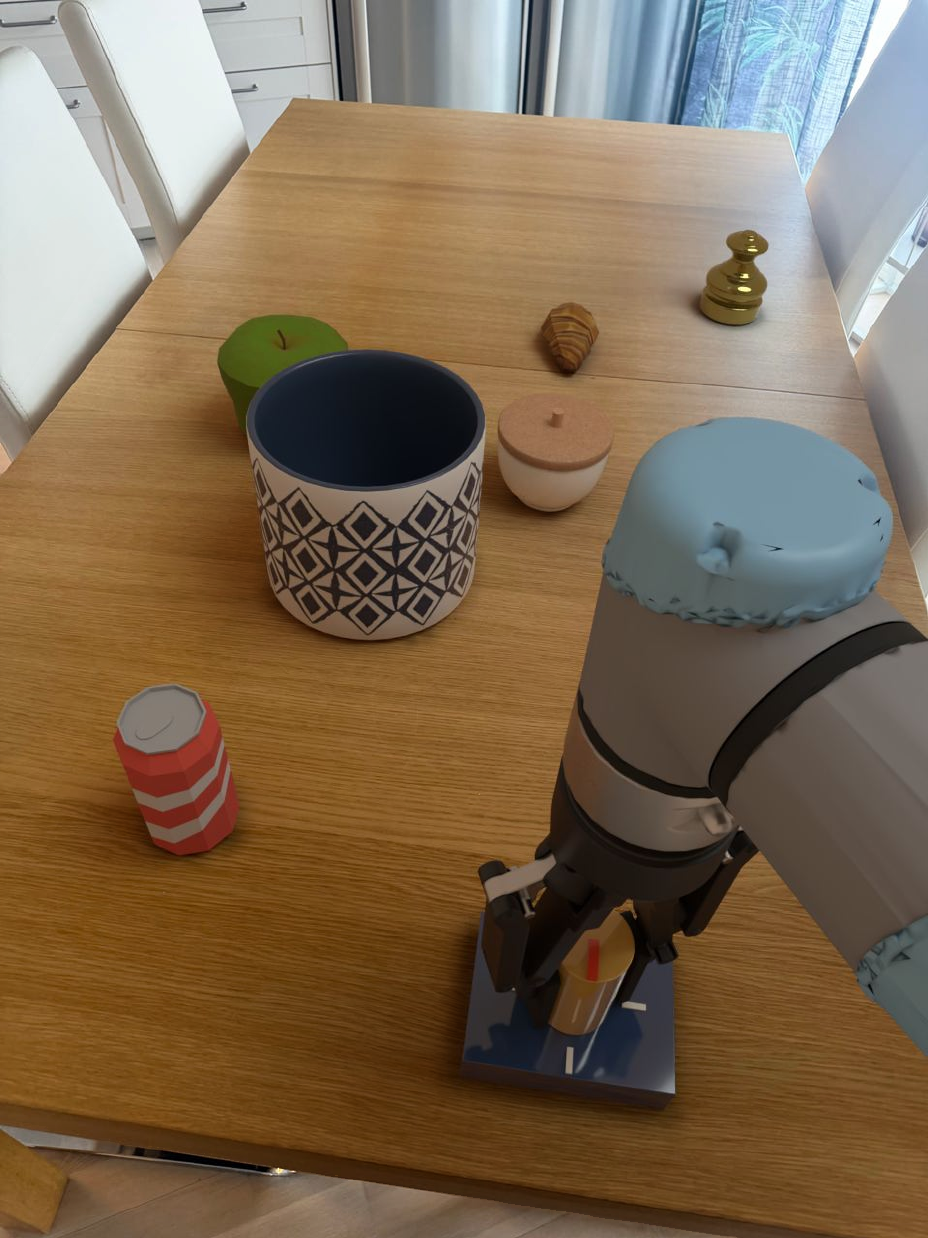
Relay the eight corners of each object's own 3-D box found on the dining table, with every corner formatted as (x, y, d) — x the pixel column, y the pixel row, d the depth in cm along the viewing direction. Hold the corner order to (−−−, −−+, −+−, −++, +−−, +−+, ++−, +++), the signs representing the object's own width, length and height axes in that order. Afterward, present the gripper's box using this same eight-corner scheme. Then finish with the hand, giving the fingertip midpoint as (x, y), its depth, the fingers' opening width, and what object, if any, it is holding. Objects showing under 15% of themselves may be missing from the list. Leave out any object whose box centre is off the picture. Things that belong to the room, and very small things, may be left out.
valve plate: (662, 958, 60) (673, 938, 57) (664, 1110, 54) (676, 1094, 51) (478, 930, 60) (481, 909, 58) (459, 1077, 54) (462, 1060, 52)
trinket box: (597, 535, 87) (613, 455, 80) (484, 518, 88) (491, 437, 81) (604, 465, 94) (621, 386, 87) (500, 450, 95) (508, 370, 88)
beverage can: (129, 821, 64) (86, 719, 56) (204, 765, 68) (174, 660, 59) (183, 877, 62) (146, 779, 53) (258, 816, 65) (235, 714, 56)
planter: (298, 669, 74) (278, 514, 62) (247, 524, 85) (222, 368, 73) (506, 614, 79) (525, 461, 67) (432, 484, 90) (437, 333, 78)
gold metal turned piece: (746, 295, 119) (769, 218, 112) (766, 325, 114) (791, 247, 107) (691, 296, 118) (710, 218, 111) (709, 327, 113) (730, 248, 106)
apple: (260, 480, 90) (246, 379, 81) (211, 414, 96) (193, 315, 88) (374, 442, 95) (371, 343, 86) (319, 381, 101) (312, 285, 93)
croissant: (540, 314, 113) (545, 275, 110) (595, 319, 113) (602, 280, 109) (537, 375, 104) (542, 335, 100) (597, 381, 104) (604, 341, 100)
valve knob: (538, 955, 56) (555, 893, 50) (610, 966, 56) (636, 905, 50) (532, 1029, 53) (549, 973, 47) (608, 1041, 53) (635, 986, 47)
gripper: (473, 918, 33) (448, 1105, 50) (894, 804, 37) (736, 1013, 54) (418, 746, 37) (413, 971, 55) (796, 662, 41) (680, 897, 59)
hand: (574, 992), depth 54 cm, fingers closed on valve knob, 4 cm apart
